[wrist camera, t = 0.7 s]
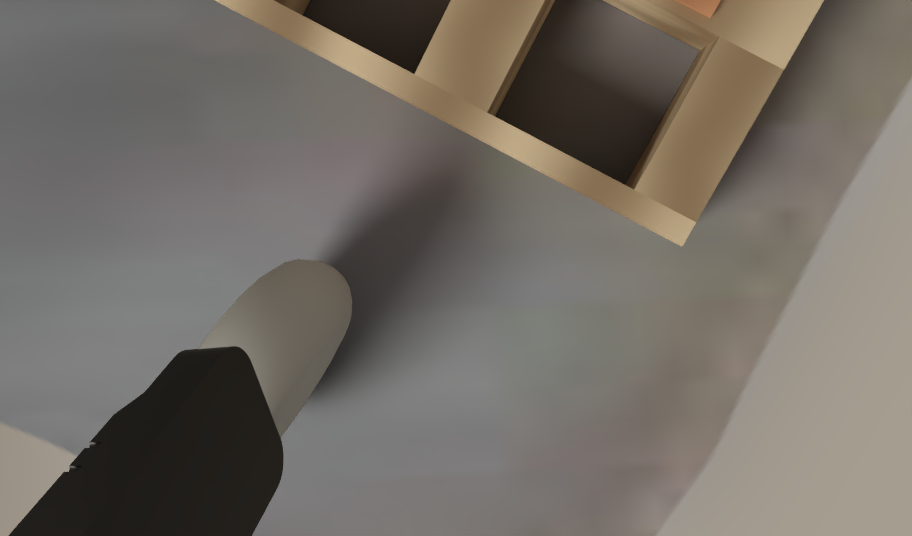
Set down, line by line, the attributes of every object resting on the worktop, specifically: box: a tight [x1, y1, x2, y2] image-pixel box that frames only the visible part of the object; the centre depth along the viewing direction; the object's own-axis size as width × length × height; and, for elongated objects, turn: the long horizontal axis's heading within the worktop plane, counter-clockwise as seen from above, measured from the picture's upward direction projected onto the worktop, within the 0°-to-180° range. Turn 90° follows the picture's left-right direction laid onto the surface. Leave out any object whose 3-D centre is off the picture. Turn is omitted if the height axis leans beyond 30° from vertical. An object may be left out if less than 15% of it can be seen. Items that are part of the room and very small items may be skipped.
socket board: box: [215, 0, 824, 247], centre depth 32 cm, size 20×10×4 cm, turn 63°
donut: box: [198, 259, 352, 438], centre depth 32 cm, size 10×4×10 cm, turn 148°
